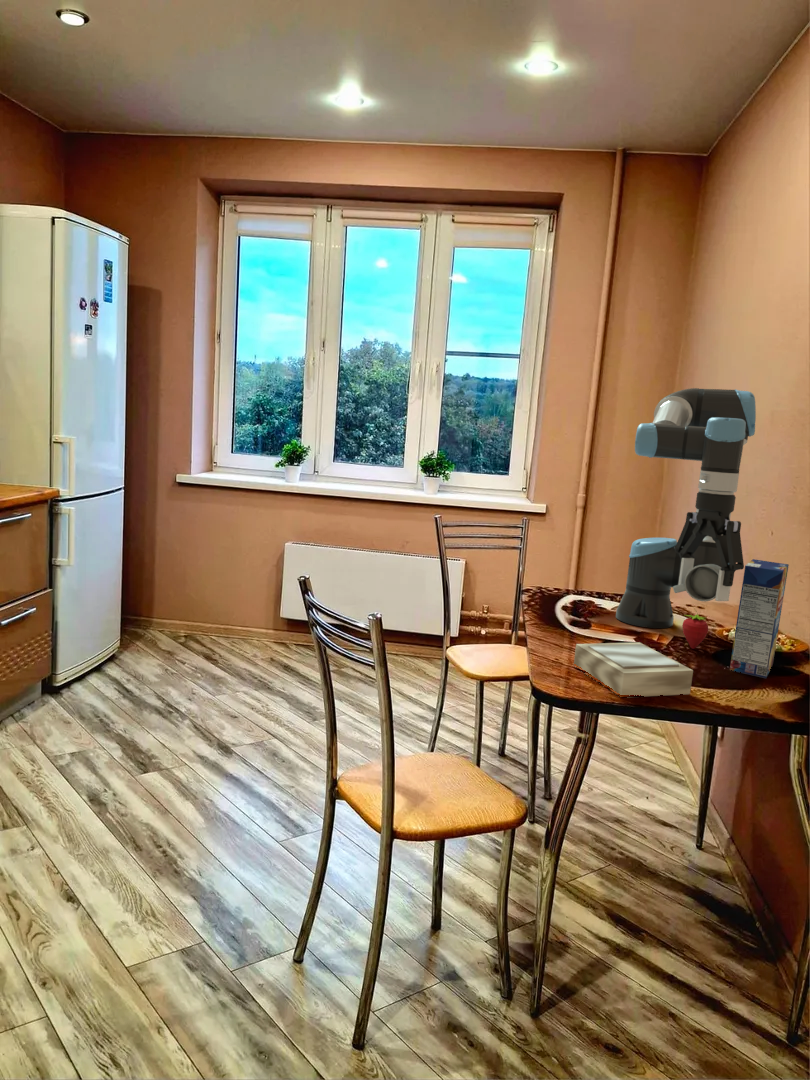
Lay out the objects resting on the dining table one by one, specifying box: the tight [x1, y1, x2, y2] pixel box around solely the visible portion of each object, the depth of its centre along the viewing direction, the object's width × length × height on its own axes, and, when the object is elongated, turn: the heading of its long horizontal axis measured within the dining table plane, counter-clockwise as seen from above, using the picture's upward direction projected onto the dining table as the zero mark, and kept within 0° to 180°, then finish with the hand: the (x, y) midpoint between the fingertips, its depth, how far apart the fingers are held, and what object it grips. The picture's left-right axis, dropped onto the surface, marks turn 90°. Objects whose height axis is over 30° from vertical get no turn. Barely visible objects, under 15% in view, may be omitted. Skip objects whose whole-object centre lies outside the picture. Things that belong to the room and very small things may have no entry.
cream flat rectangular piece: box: [573, 641, 694, 697], centre depth 150 cm, size 18×16×5 cm
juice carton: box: [729, 558, 790, 679], centre depth 163 cm, size 12×8×24 cm, turn 147°
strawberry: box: [681, 609, 709, 650], centre depth 176 cm, size 6×8×10 cm
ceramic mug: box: [672, 564, 721, 602], centre depth 155 cm, size 11×8×8 cm
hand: (702, 593), depth 155 cm, fingers closed on ceramic mug, 11 cm apart
